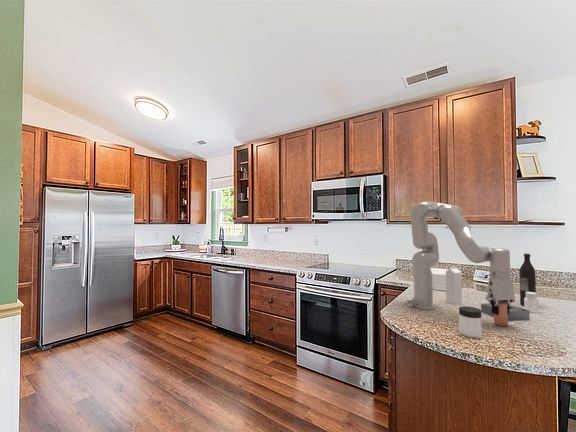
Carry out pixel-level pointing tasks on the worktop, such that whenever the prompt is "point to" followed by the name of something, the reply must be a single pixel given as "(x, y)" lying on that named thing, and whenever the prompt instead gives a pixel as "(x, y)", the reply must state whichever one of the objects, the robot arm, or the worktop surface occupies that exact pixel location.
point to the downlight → (531, 302)
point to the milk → (453, 286)
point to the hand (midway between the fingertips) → (500, 313)
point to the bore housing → (515, 312)
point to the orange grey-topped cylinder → (501, 314)
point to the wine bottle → (527, 278)
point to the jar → (470, 321)
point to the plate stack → (439, 278)
